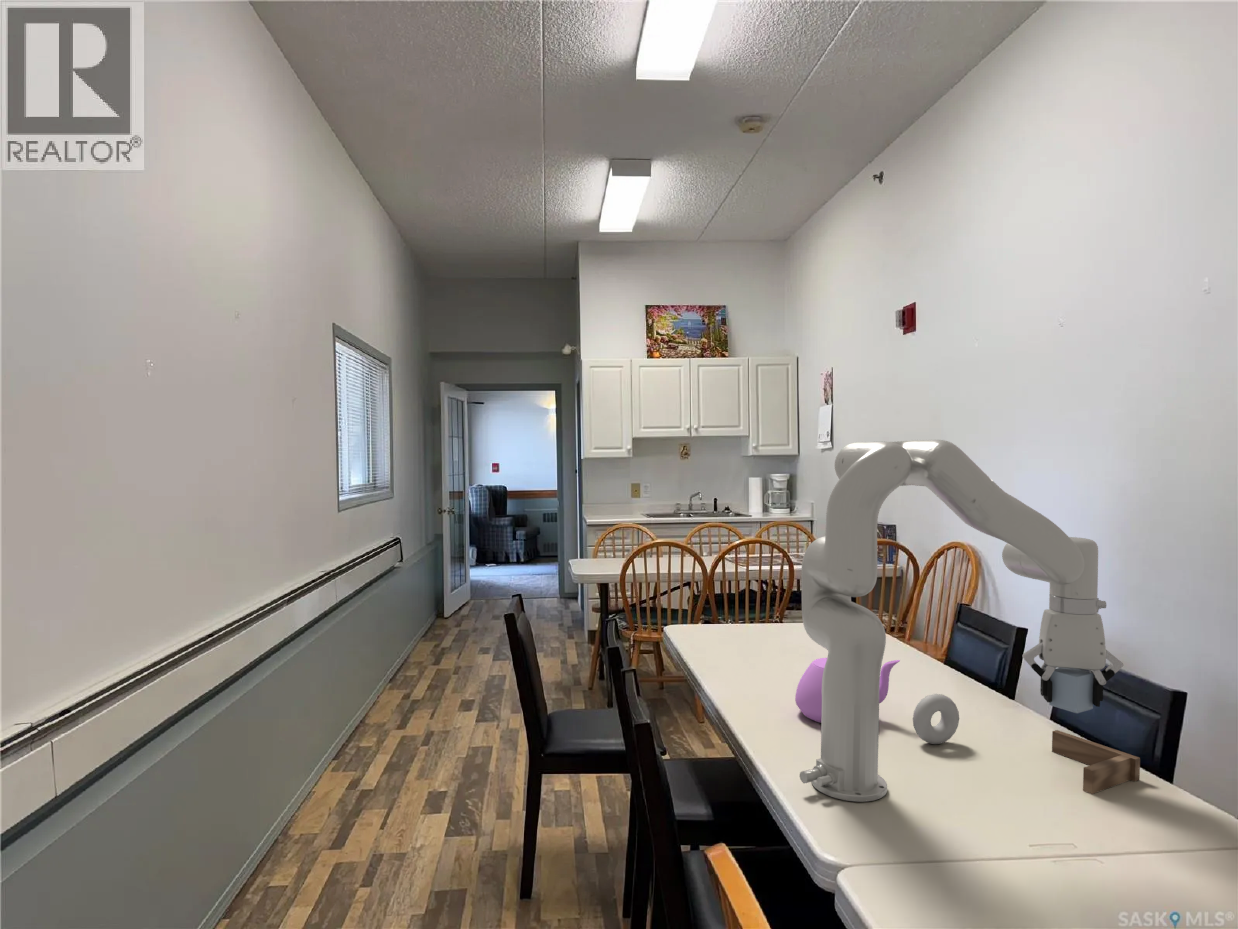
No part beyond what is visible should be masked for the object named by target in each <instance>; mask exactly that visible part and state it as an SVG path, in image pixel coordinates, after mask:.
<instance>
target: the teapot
mask: <svg viewBox="0 0 1238 929" xmlns="http://www.w3.org/2000/svg"><path fill="white" fill-rule="evenodd" d="M826 661H827V657H820V658H816V659H814V660H812V662H811V663H810V664H809V665H808V667H806V669H805V671H804V673H803V674H802V675H801V678H800V679H799V681H798V683H797V687H796V691H795V695H794V696H795V704H796V706H797V708H798V709H799V710H800V711H801V713H802V714H803V715H804V716H805V717H807V718H808V719H810V720H812V721H815V722H817V723H821V719H822V677H823V671H824V667H825V664H826ZM900 661H901V659H896V660H890V661H887V662H884V663H883V664H882V665H881V672H880V685H879V705H880V704H881V703H882V702H883V701H885V700H886V698H887V695H888V693H889V687H890V686H889V684H890V673H891V671H892V669H893V668H894V666H896V664H898V663H899V662H900Z"/></svg>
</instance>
